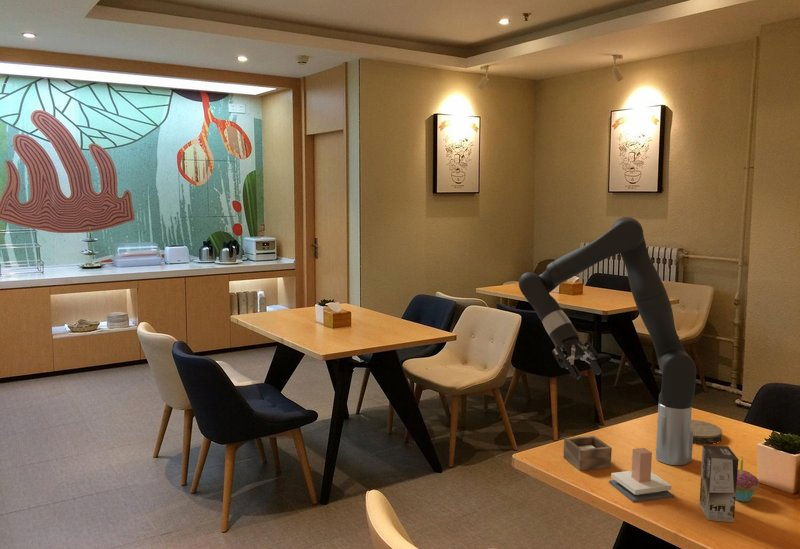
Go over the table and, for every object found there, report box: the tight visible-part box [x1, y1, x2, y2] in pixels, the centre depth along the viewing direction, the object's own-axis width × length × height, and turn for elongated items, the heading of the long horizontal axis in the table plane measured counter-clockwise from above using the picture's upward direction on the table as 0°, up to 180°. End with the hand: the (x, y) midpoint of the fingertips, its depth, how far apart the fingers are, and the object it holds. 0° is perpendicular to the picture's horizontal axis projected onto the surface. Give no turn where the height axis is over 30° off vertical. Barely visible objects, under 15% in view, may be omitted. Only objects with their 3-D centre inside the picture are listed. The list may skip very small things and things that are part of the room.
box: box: [563, 435, 613, 472], centre depth 200 cm, size 10×10×6 cm
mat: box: [608, 479, 675, 503], centre depth 183 cm, size 12×12×1 cm
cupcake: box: [735, 457, 760, 502], centre depth 177 cm, size 9×8×12 cm
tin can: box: [691, 419, 723, 445], centre depth 223 cm, size 16×16×3 cm
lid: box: [610, 447, 672, 495], centre depth 182 cm, size 11×11×10 cm
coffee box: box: [699, 444, 740, 523], centre depth 169 cm, size 9×6×16 cm
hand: (589, 375), depth 192 cm, fingers open, 8 cm apart
